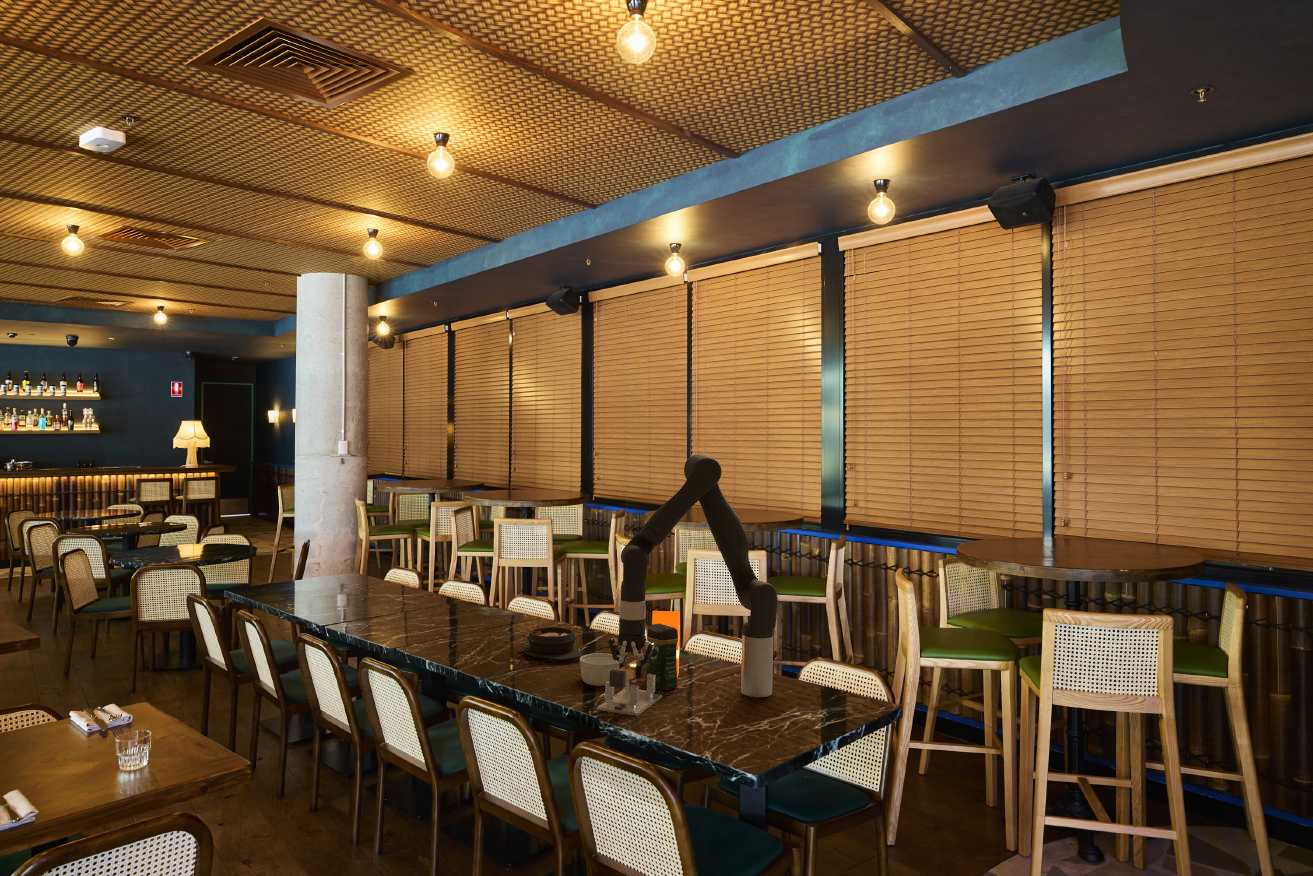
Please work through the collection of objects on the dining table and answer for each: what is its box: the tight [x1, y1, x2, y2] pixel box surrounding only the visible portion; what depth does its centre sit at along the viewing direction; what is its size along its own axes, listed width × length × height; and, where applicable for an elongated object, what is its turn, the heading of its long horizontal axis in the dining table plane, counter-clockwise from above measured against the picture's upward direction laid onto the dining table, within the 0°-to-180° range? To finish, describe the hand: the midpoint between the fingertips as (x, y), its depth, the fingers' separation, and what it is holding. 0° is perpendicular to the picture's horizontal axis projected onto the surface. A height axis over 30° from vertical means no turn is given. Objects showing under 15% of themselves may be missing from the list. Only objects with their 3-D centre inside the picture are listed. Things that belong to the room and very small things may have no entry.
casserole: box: [521, 626, 584, 661], centre depth 272 cm, size 25×19×8 cm
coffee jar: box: [645, 623, 678, 691], centre depth 240 cm, size 10×8×19 cm
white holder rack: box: [596, 674, 663, 717], centre depth 223 cm, size 18×12×7 cm, turn 158°
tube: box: [609, 655, 650, 689], centre depth 222 cm, size 19×4×4 cm, turn 158°
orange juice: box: [651, 610, 681, 679], centre depth 253 cm, size 8×9×20 cm
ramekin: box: [579, 652, 620, 687], centre depth 244 cm, size 13×13×7 cm
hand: (630, 676), depth 223 cm, fingers closed on tube, 4 cm apart
